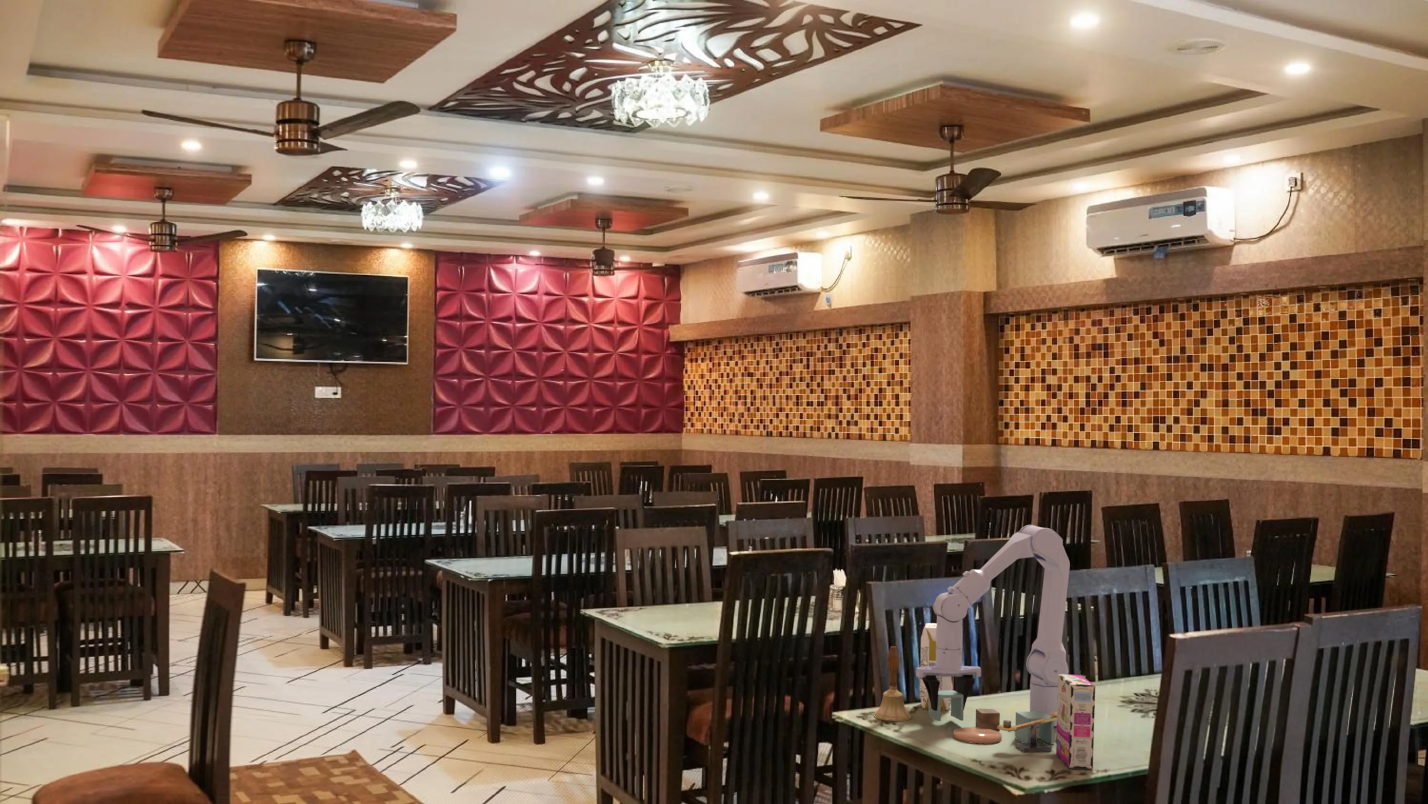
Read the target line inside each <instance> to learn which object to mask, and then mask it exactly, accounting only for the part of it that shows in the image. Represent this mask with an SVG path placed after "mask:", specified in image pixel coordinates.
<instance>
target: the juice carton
mask: <svg viewBox="0 0 1428 804" xmlns="http://www.w3.org/2000/svg"><path fill="white" fill-rule="evenodd" d="M936 627H937V622H936V623H934V622H932V623H931V622H930V623H929V622H926V623H925V626H923V629H922V634H921V637H920V662H919V663H920V665H919V666H920V667H929V666H936ZM954 677H955V676H953V677H936V678H937V680H938V681H939V682H940V685H939V691H945V690H953V691H954ZM919 698H920V703H921V707H922V709H926V710H929V695H928V692H927V689H926V687H925V684H924V682H923V680H922V678H919ZM950 709H951V698H941V711H949V710H950Z"/></svg>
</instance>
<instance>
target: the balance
mask: <svg viewBox="0 0 1428 804" xmlns="http://www.w3.org/2000/svg"><path fill="white" fill-rule="evenodd" d="M1051 715H1052V717H1048V718H1044V719H1040V720H1036V721H1032V722H1028V723H1024V724H1020V725H1016V724H1015V725H1013V724H1012V721H1011V720H1008V719H1007V720H1003V722H1002V724H1000V725H998V726H997V728H998V729H1000V731H1005V732H1009V733H1011V732H1015V731H1016V730H1019V729H1022V728H1026V727H1030V743H1022V742H1016V743H1015V748H1017V749H1018V748H1019V750H1020V749H1021V750H1020V751H1022V752H1023V751H1024V752H1023V753H1030V752H1029V751H1032V752H1031V753H1034V752H1033V751H1043V752H1052V746H1050V745H1049V744H1048V743H1047V744H1046V742H1038V728H1039V727H1038V724H1042V723H1046V722H1050V721H1054V720H1057V711H1054V712H1051Z"/></svg>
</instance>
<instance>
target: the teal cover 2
mask: <svg viewBox="0 0 1428 804" xmlns="http://www.w3.org/2000/svg"><path fill="white" fill-rule="evenodd" d="M1048 717H1051V716H1049V715H1047V714H1045V713H1043V712H1042V711H1032V712H1030V711H1015V726H1016V725H1020V724H1024V723H1028V722H1030V721H1036V720H1040V719H1044V718H1048ZM1030 727H1031V726H1030ZM1030 727H1026V728H1022V729H1019V730H1016V731H1014V732H1015V733H1014V734H1015V736H1014V738H1015V739H1016V738H1017V739H1018V741H1019V740H1020V741H1019V742H1021V741H1022V742H1023V743H1030ZM1054 733H1055V726H1054V721H1050V722H1046V723H1042V724H1039V727H1038V732H1037V738H1038V737H1040V738H1041V739H1040V738H1039V739H1040V740H1042V741H1044V742H1045V741H1046V742H1045V743H1047V742H1048V743H1047V744H1048V745H1051V744H1053V745H1054V742H1055V741H1054ZM1017 739H1016V740H1017ZM1022 742H1021V743H1022Z"/></svg>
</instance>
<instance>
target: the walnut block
mask: <svg viewBox="0 0 1428 804" xmlns="http://www.w3.org/2000/svg"><path fill="white" fill-rule="evenodd" d="M1000 720H1001V713H1000V712H999V711H997V710H996V709H994V708H975V727H977V728H986V729H991V730H995V731H998V732H1000V731H1001V730H1000V729H998V728H997V726H998V725H1001V723H1000V722H1001V721H1000Z"/></svg>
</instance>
